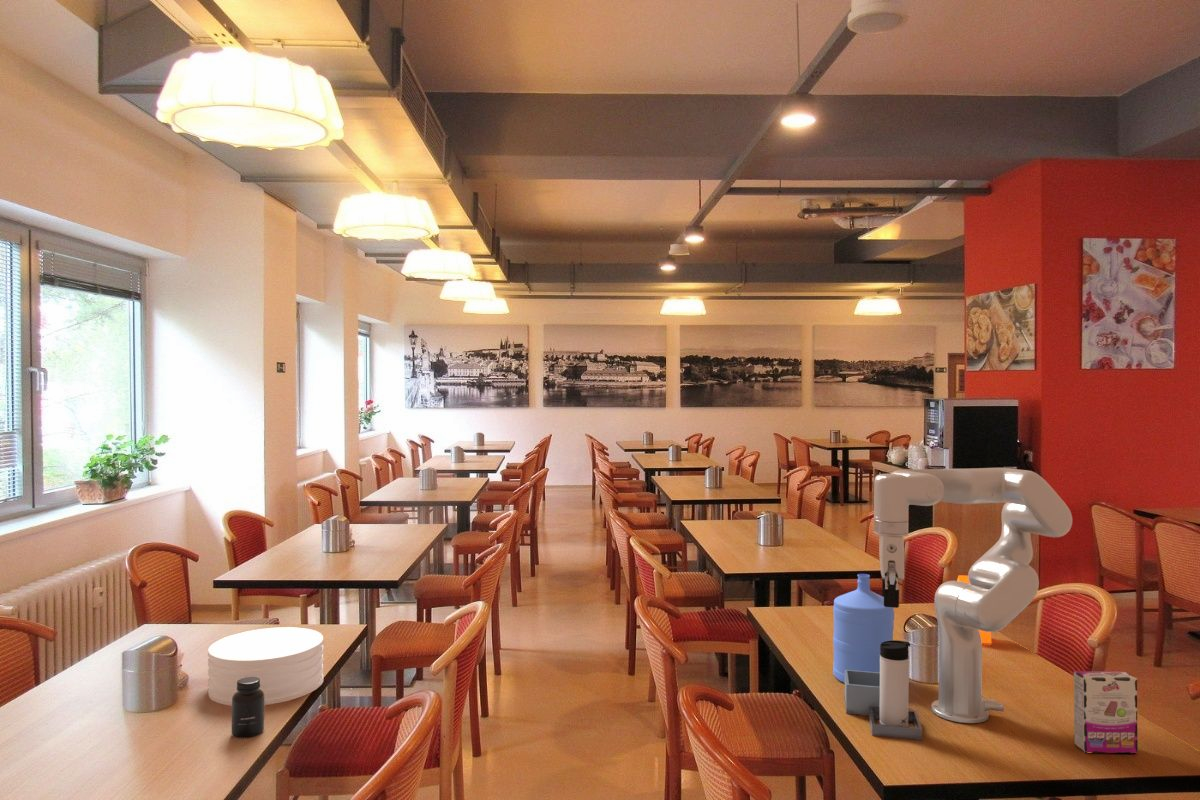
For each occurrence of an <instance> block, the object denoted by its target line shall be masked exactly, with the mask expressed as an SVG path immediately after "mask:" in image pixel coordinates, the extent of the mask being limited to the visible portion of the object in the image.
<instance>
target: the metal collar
mask: <svg viewBox="0 0 1200 800" xmlns="http://www.w3.org/2000/svg"><path fill="white" fill-rule="evenodd" d="M874 718H877V719H876V720H880V708H879V707H869V716H868V720H869V725H870V731H871V736H874V737H876V736H877V737H884V738H895V739H903V740H913V741H914V740H915V741H923V727H922V724H921V721H920V718H919V715H918V711H917V710H909V709H908V723H913V725H914V727H912V726H908V727H904V726H894V725H884V724H880V723H875V719H874Z"/></svg>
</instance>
